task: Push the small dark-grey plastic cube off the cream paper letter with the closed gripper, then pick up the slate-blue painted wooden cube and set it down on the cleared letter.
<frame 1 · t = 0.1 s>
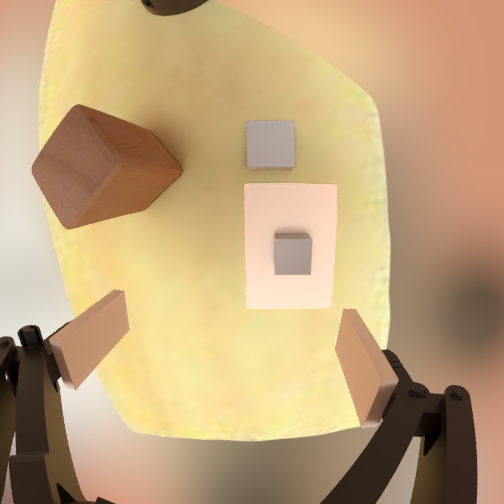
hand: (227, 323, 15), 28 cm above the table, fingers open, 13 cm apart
wooden block: (146, 170, 41), on the table
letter: (290, 248, 42), on the table
slate cube: (270, 150, 39), on the table
grey cube: (290, 249, 42), resting on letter
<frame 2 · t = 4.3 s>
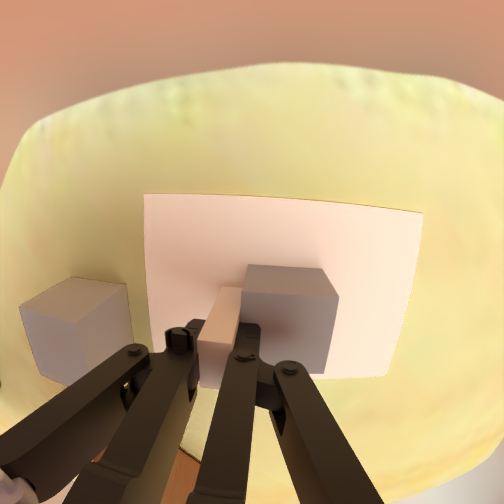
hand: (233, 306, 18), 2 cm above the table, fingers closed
wooden block: (155, 451, 26), on the table
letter: (281, 299, 19), on the table
slate cube: (101, 312, 21), on the table
grey cube: (282, 300, 19), resting on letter
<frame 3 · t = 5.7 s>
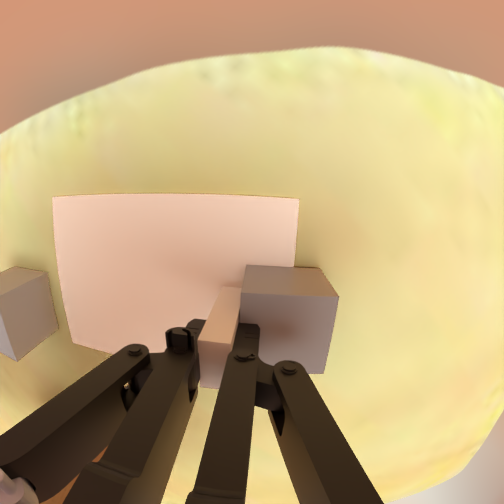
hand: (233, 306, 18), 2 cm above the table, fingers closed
wooden block: (93, 431, 26), on the table
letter: (155, 287, 20), on the table
slate cube: (35, 296, 21), on the table
grey cube: (280, 300, 19), on the table, touching gripper, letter
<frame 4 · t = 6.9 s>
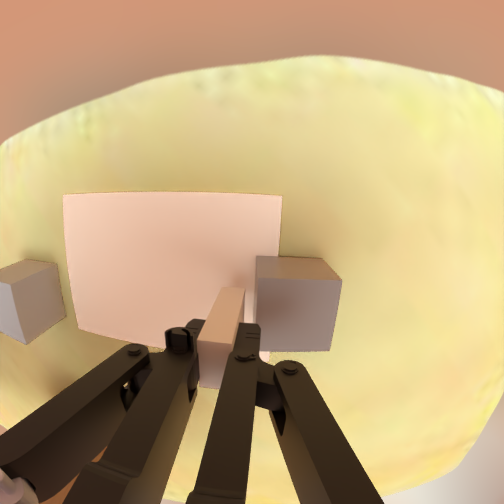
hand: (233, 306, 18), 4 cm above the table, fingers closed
wooden block: (95, 417, 29), on the table
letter: (155, 276, 22), on the table
slate cube: (44, 286, 24), on the table
grey cube: (287, 288, 21), on the table, tilted 5°, touching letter
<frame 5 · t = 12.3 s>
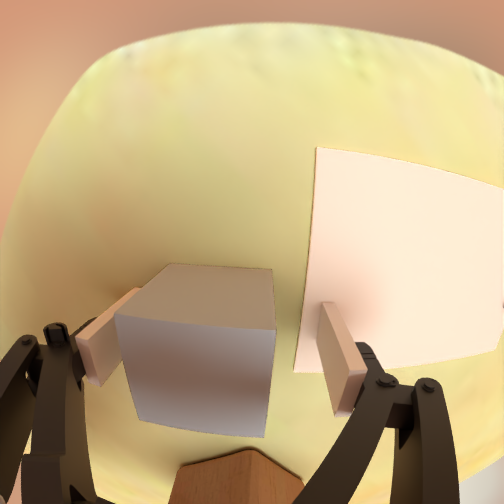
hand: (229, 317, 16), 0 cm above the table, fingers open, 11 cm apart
wooden block: (242, 475, 21), on the table
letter: (444, 277, 15), on the table
slate cube: (219, 312, 17), on the table
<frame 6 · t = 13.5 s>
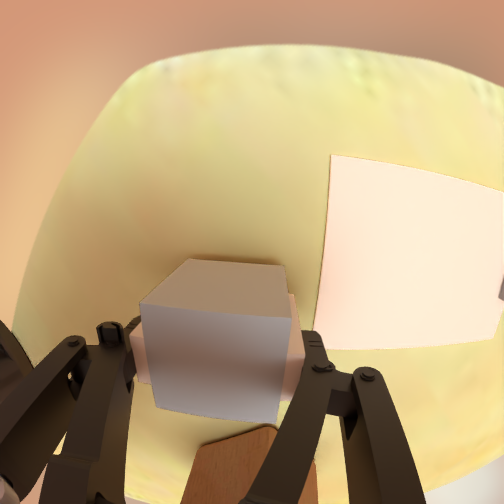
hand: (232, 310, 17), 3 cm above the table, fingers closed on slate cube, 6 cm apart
wooden block: (258, 454, 24), on the table
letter: (441, 267, 18), on the table
slate cube: (233, 306, 18), point 2 cm above the table, touching gripper
when the fingers open (1 cm above the table, at t = 18.1 s): slate cube stays where it is, resting on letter.
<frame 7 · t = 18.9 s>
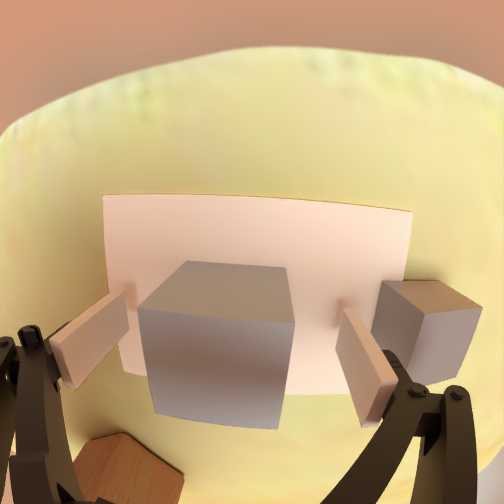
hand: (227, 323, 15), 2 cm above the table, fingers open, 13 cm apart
wooden block: (134, 458, 24), on the table
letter: (248, 308, 17), on the table
slate cube: (233, 309, 17), resting on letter
grey cube: (404, 314, 17), on the table, tilted 5°, touching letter
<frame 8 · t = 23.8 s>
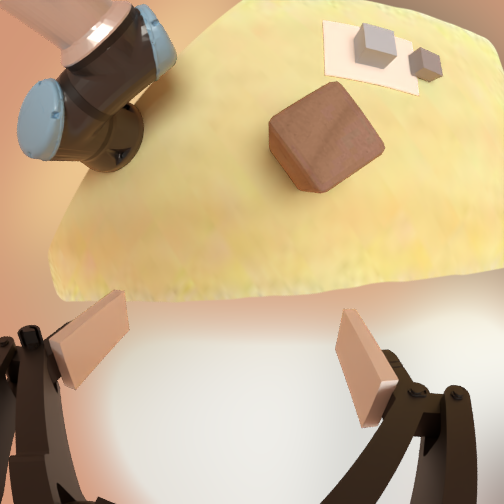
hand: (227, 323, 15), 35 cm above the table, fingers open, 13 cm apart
wooden block: (306, 154, 46), on the table
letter: (372, 55, 39), on the table
slate cube: (368, 53, 39), resting on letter
grey cube: (419, 68, 38), on the table, tilted 5°, touching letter
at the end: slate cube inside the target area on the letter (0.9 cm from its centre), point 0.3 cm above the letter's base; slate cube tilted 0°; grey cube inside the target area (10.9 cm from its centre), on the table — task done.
